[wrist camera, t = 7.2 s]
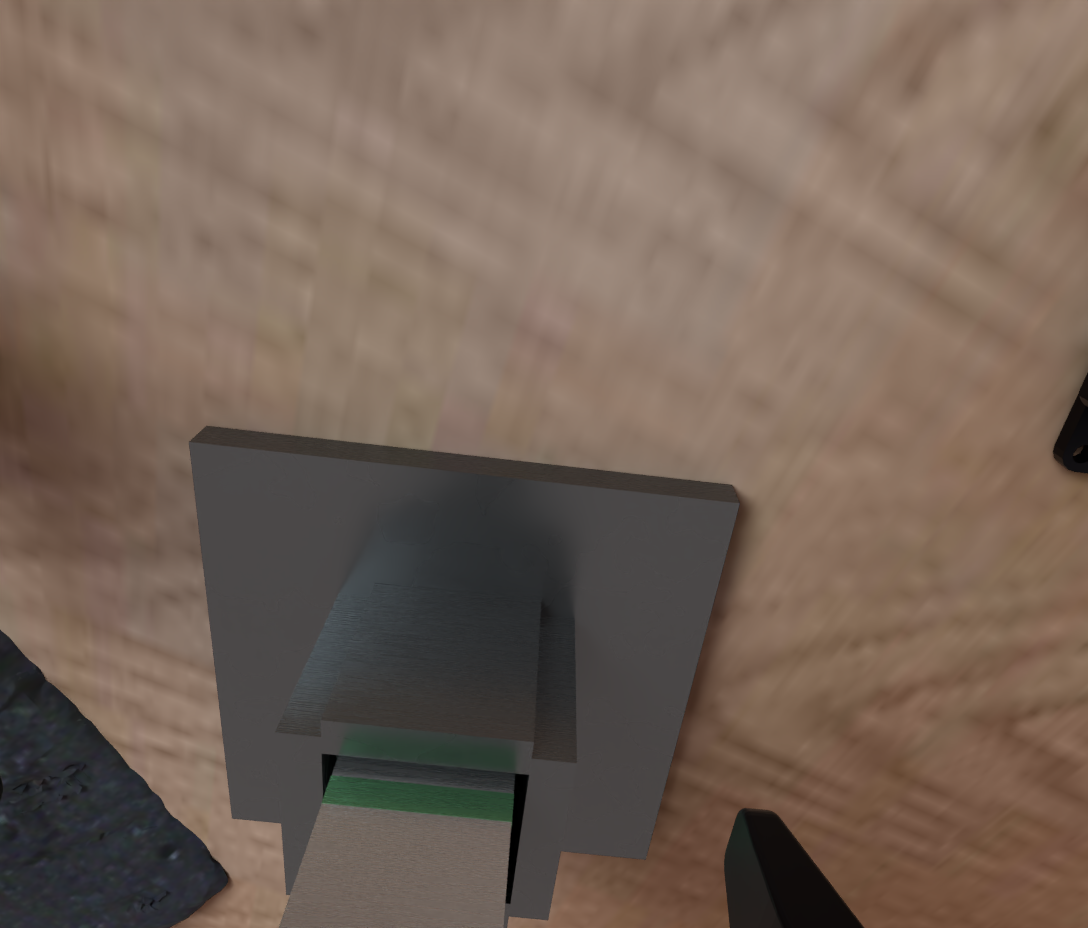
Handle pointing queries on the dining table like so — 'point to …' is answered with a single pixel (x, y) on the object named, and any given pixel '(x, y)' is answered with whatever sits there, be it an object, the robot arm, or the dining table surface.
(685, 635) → the stand
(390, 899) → the column
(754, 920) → the robot arm
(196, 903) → the dark slate chunk
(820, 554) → the dining table surface
